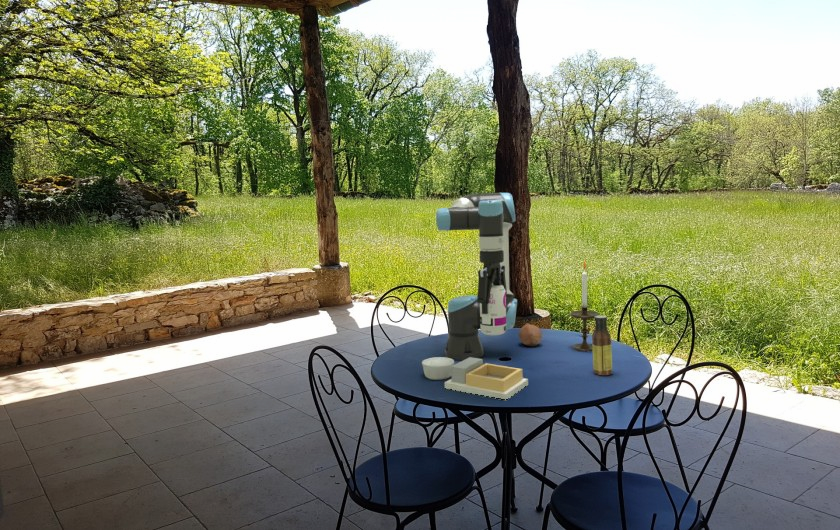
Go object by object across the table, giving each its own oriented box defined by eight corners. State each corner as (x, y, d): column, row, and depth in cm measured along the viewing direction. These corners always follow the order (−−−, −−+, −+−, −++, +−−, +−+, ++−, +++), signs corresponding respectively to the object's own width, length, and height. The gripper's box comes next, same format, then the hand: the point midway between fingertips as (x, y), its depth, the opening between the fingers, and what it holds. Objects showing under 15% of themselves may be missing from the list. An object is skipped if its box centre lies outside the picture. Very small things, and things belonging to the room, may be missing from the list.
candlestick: (574, 344, 222) (574, 259, 218) (601, 346, 216) (601, 260, 212) (567, 350, 213) (566, 262, 209) (595, 353, 207) (595, 263, 203)
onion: (523, 350, 226) (517, 327, 229) (545, 345, 224) (539, 321, 227) (520, 348, 217) (514, 324, 220) (543, 342, 215) (536, 318, 218)
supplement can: (505, 329, 175) (504, 283, 173) (507, 335, 167) (506, 287, 165) (480, 329, 176) (479, 284, 174) (480, 335, 168) (479, 288, 166)
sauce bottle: (612, 371, 186) (612, 314, 184) (612, 376, 180) (612, 318, 178) (592, 369, 188) (592, 314, 186) (591, 375, 182) (591, 317, 180)
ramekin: (417, 374, 191) (417, 359, 191) (446, 369, 196) (445, 355, 195) (430, 383, 181) (429, 368, 180) (460, 377, 185) (459, 363, 185)
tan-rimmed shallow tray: (444, 388, 175) (444, 367, 174) (469, 374, 188) (468, 355, 187) (506, 400, 162) (505, 378, 162) (528, 384, 175) (527, 364, 174)
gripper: (486, 253, 158) (487, 329, 160) (516, 247, 175) (518, 315, 177) (464, 252, 162) (466, 326, 165) (496, 246, 179) (497, 313, 181)
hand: (493, 321), depth 171 cm, fingers closed on supplement can, 8 cm apart
